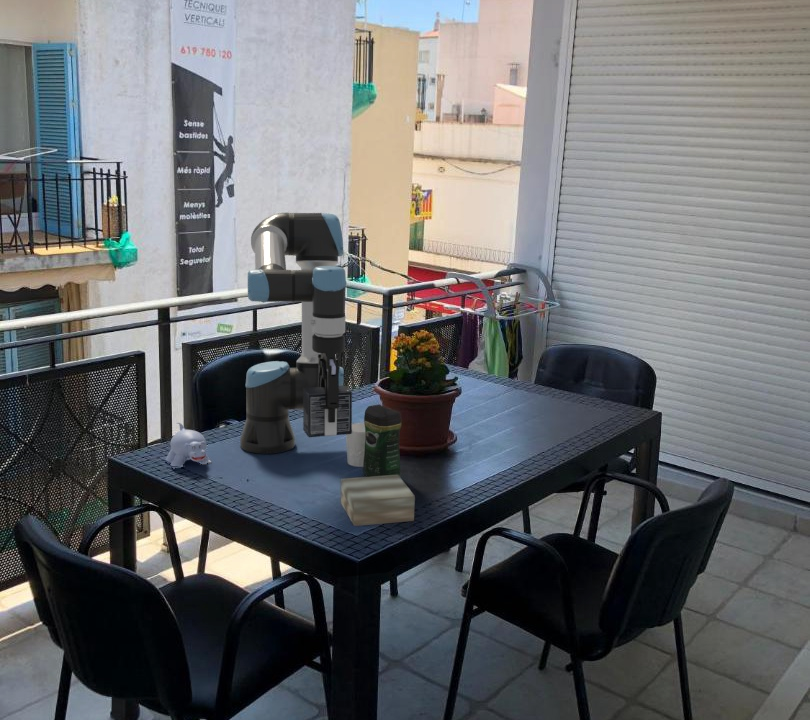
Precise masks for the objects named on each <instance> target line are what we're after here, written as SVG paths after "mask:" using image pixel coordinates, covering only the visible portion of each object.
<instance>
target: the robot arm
mask: <svg viewBox="0 0 810 720" xmlns="http://www.w3.org/2000/svg"><path fill="white" fill-rule="evenodd" d="M250 246H251V249H252V252H253V253H254V264H255V265H254V266H255V269H251V270H248V272H247V298H248V300H249V301H251V302H259V303H260V302H261V303H293V302H294V303H301V355H300V357H298V359H297V360H296V363H295V364H296V367H290V365H289V363H288V362H287V361H283V360H282V361H279V360H275V361H274V360H273V361H265V362H261V363H260V362H259V363H257V364H254V365H253V366H251V367H249V368H248V370H247V372H246V379H245V386H244V387H245V388H246V390H245V391H246V392H245V393H246V397H245V399H246V404H245V405H246V409H245V410H246V416H245V417H246V420H245V423H244V426H243V429H242V432H241V435H240V439H239V440H240V448H241V449H242V450H244V451H246V452H249V453H254V454H261V455H263V454H264V455H265V454H267V455H269V454H270V455H271V454H279V453H284V452H287V451H290V450H292V449H293V448H295V446H296V436H295V434H294V431H293V427H292V424H291V421H290V418H289V416H290V415H289V410H290V411H291V410H303V388H312V387H325V394H326V395H325V397H326V406H323V409H325V436H324V437H328V435H332V436H338V435H337V408H339V386H343V385H344V374H345V372H344V371H345V370H344V368H343V367H342V366H340V365H339V360H338V358H337V356H336V355H337V354H340V353H343V352H344V351H345V349H346V346H345V345H346V335H344V334H345V333H346V318H347V317H346V289H347V286H346V285H347V279H346V269H345V268H343V267H341V266H337V264H338V263H339V257H342V256H344V239H343V231H342V226H341V222H340V219H339V216H337V215H336V214H333V213H325V212H279V213H275V214H272V215H270V216H268V217H266V218H265V219H263V220H261V222H259V223H258V224H257V225H256V226H255V228H254V229H253V231H252V233H251V237H250ZM286 256H293V257H294V256H295V263H296V264H297V265H298V266H299V268H300V269H287V266H286V265H287V264H286Z"/></svg>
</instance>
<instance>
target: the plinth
mask: <svg viewBox="0 0 810 720" xmlns="http://www.w3.org/2000/svg"><path fill="white" fill-rule="evenodd" d="M340 482H341V483H340V504H341V505H342V508H343V509H344V511H345V512H346V514H347V516H348V517H349V520H350V521H351V523H352V526H354V527H358V526H359V527H361V526H368V525H380V524H381V525H383V524H392V523H393V524H395V523H402V522H403V523H404V522H414V521H415V504H416V503H415V501H416V497H415V494H414V493H413V492H412V491H411V489H410V488H409V487H408V486H407V484H406V483H405V481H404V480H403V479H402V478H401V476H399V475H386V476H373V477H367V476H360V477H350V478H349V477H347V478H341V479H340Z"/></svg>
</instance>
